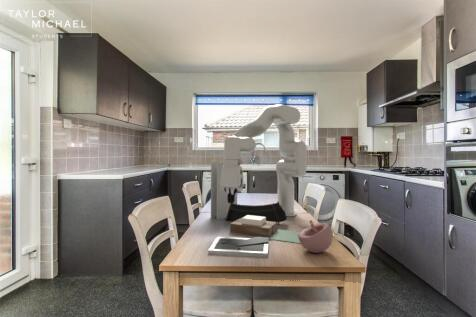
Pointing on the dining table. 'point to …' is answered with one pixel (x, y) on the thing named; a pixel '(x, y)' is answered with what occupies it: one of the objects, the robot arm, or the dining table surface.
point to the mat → (286, 236)
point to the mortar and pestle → (316, 237)
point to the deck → (253, 228)
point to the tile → (253, 220)
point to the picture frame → (240, 246)
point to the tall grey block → (218, 193)
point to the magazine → (257, 212)
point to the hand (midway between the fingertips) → (230, 202)
